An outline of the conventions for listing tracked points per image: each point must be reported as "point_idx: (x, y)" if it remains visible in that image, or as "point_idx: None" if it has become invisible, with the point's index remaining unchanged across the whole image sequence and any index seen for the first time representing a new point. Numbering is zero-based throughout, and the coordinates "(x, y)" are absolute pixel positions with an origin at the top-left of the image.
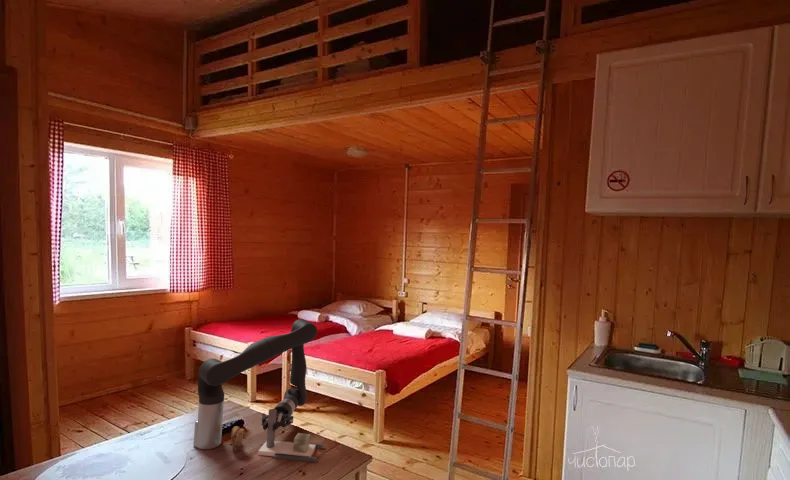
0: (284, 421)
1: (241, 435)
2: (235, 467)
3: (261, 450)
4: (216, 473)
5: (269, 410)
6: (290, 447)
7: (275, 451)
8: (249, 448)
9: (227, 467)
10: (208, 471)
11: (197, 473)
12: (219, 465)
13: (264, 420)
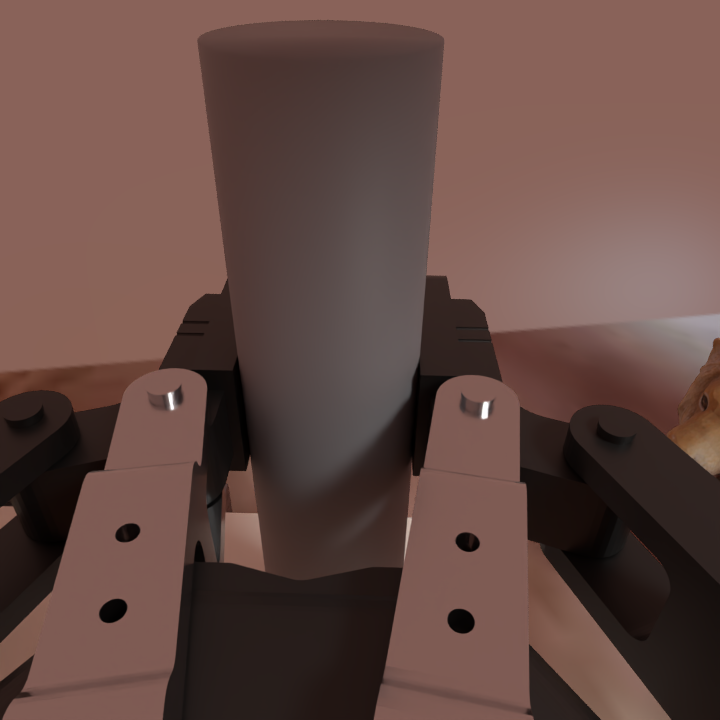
0: (12, 408)
1: (711, 364)
2: (521, 379)
3: (408, 530)
4: (594, 324)
5: (412, 32)
6: (15, 658)
7: (229, 531)
8: (648, 699)
9: (579, 374)
10: (664, 333)
11: (708, 315)
12: (659, 385)
13: (568, 438)
